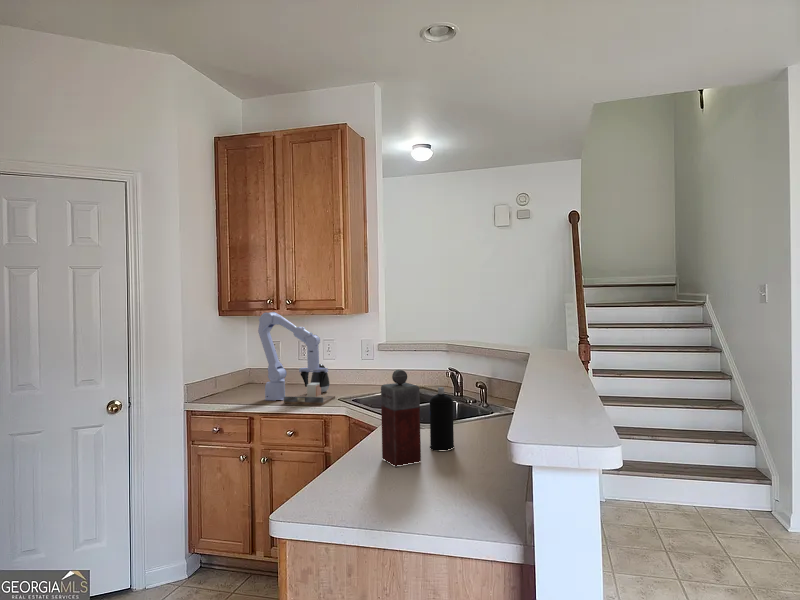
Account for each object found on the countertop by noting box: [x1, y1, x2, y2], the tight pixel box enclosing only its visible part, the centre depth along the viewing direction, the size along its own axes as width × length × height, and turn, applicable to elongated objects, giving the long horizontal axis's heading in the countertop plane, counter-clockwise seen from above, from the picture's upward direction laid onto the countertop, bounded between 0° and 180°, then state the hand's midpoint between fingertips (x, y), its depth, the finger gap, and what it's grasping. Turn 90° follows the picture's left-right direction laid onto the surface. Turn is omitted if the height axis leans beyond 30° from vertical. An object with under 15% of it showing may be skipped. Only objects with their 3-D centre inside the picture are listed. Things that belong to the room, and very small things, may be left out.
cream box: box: [306, 382, 322, 397], centre depth 263 cm, size 5×7×7 cm
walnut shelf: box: [283, 394, 336, 406], centre depth 261 cm, size 20×17×3 cm
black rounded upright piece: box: [310, 363, 331, 394], centre depth 285 cm, size 10×10×15 cm
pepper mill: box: [380, 369, 422, 466], centre depth 163 cm, size 9×11×28 cm
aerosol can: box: [428, 386, 455, 451], centre depth 175 cm, size 8×8×20 cm
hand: (313, 386), depth 263 cm, fingers open, 7 cm apart
